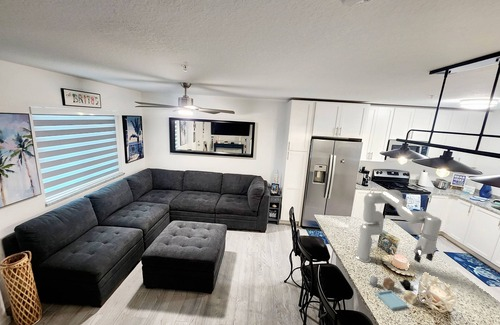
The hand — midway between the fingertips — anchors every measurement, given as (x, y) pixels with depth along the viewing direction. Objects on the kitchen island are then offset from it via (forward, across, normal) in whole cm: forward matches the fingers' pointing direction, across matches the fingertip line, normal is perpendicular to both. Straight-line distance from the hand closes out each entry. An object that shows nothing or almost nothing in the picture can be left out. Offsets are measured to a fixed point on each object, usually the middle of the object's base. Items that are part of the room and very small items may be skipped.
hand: (422, 260), depth 130 cm
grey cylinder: (+31, +15, -17) cm, 39 cm away
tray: (+31, +14, -3) cm, 34 cm away
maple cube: (+31, +1, -1) cm, 31 cm away
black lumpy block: (+32, -9, -12) cm, 35 cm away
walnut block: (+31, +6, -13) cm, 34 cm away
